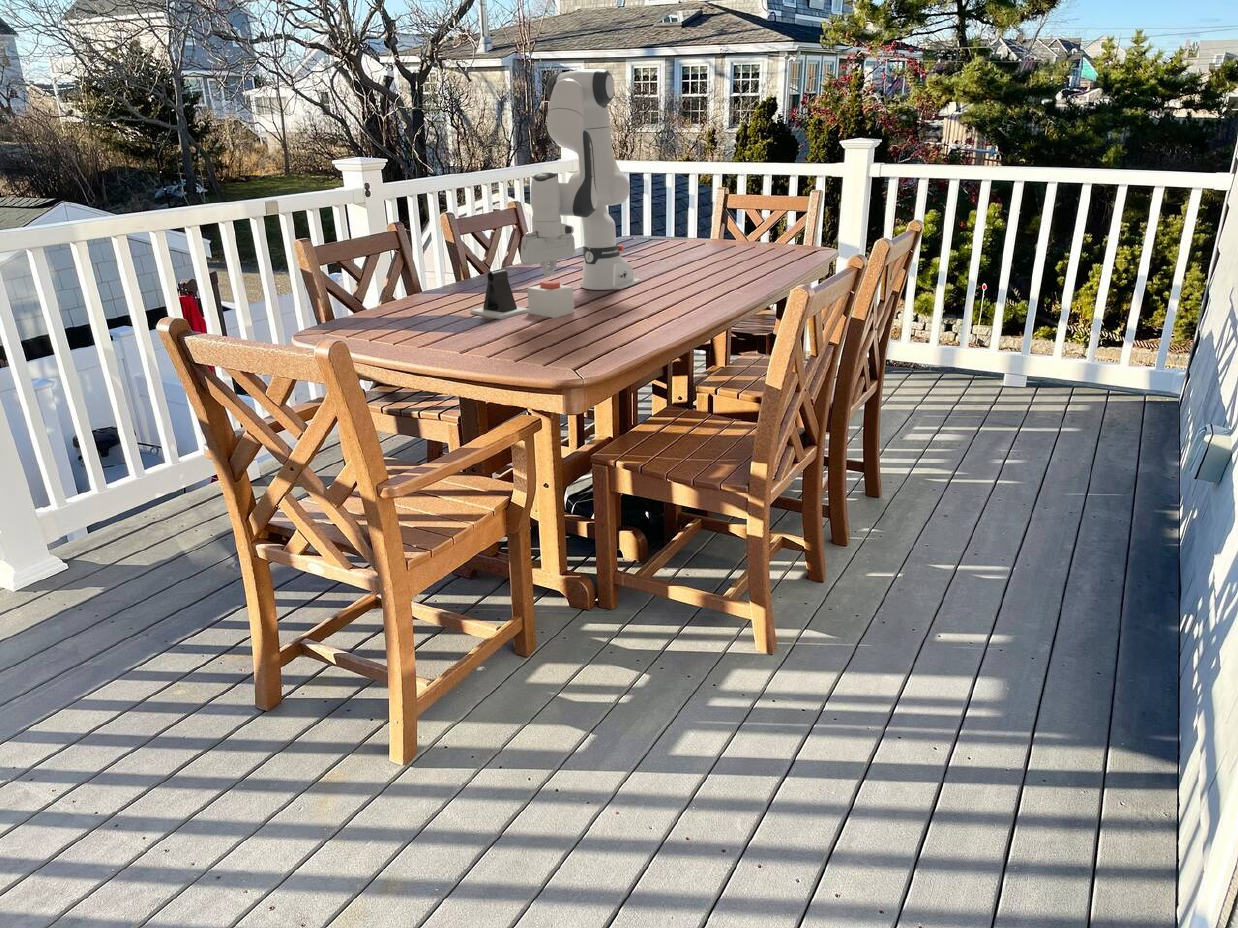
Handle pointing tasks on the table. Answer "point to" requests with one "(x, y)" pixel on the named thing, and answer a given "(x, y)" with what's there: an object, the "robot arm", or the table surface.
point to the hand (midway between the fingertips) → (549, 276)
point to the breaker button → (550, 285)
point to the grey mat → (499, 314)
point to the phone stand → (499, 293)
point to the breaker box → (551, 301)
